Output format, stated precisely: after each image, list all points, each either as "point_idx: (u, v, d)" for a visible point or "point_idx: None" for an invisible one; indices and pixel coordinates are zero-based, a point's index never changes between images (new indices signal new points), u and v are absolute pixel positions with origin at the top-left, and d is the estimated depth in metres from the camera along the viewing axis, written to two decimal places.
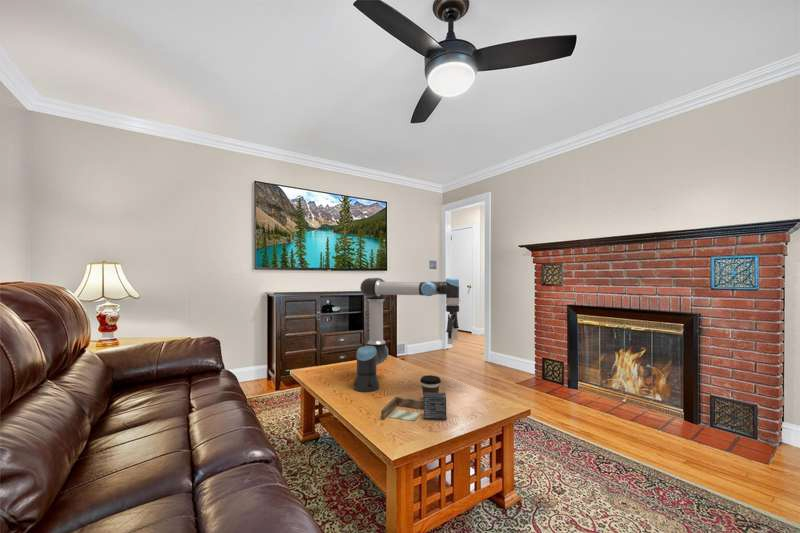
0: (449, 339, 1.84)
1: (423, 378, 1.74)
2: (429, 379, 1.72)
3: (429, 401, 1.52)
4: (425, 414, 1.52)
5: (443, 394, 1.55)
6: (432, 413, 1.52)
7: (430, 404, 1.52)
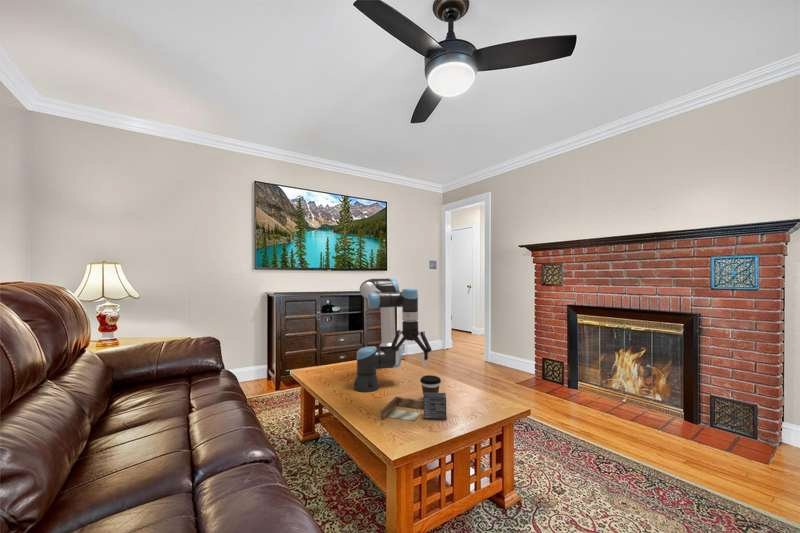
0: None
1: (423, 378, 1.74)
2: (429, 379, 1.72)
3: (429, 401, 1.52)
4: (425, 414, 1.52)
5: (443, 394, 1.55)
6: (432, 413, 1.52)
7: (430, 404, 1.52)
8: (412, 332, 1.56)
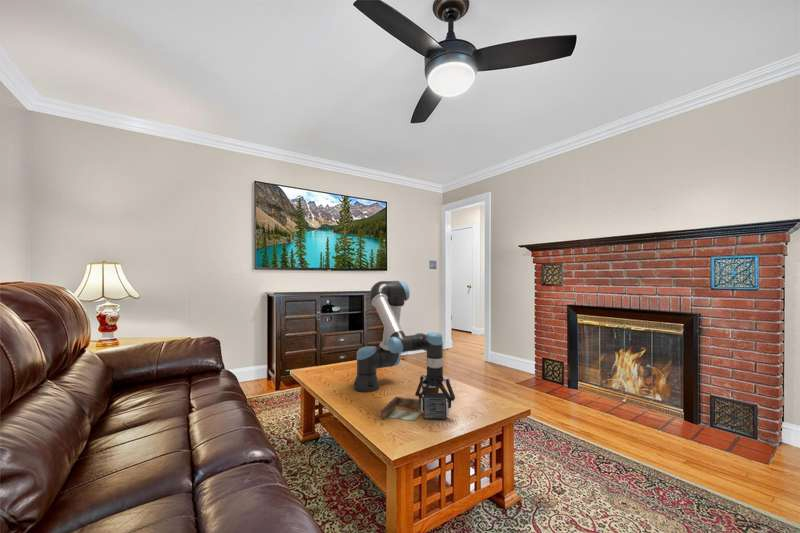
0: None
1: None
2: None
3: (429, 401, 1.52)
4: (425, 414, 1.52)
5: (443, 394, 1.55)
6: (432, 413, 1.52)
7: (430, 404, 1.52)
8: (437, 378, 1.54)
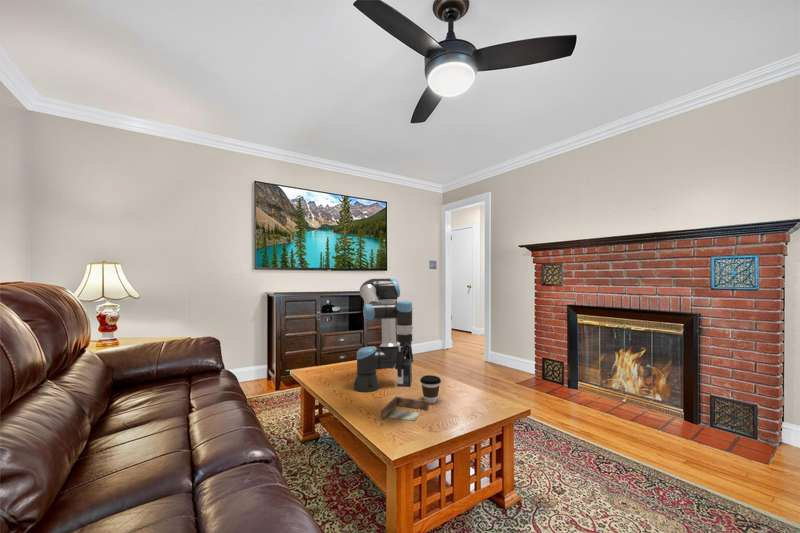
0: (399, 377, 1.51)
1: (423, 378, 1.74)
2: (429, 379, 1.72)
3: (410, 367, 1.54)
4: (410, 381, 1.52)
5: (404, 359, 1.61)
6: None
7: (410, 370, 1.54)
8: (407, 343, 1.58)
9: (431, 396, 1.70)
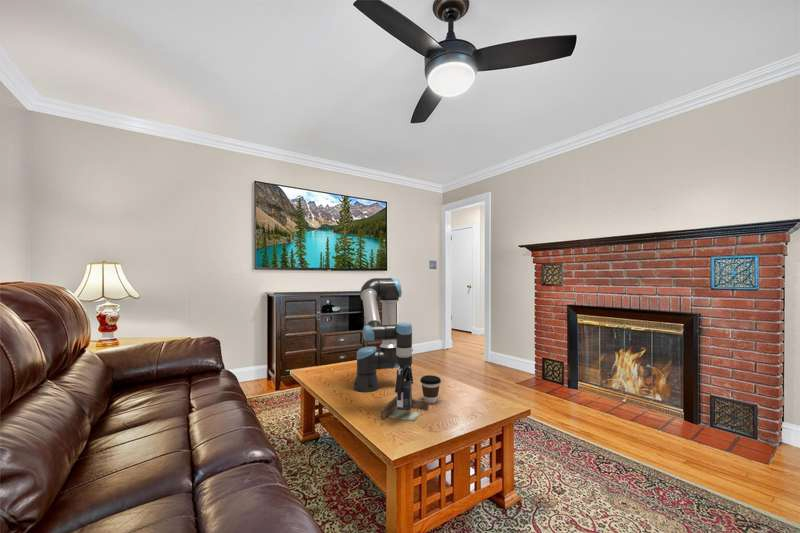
0: (399, 401, 1.51)
1: (423, 378, 1.74)
2: (429, 379, 1.72)
3: (410, 390, 1.54)
4: (410, 404, 1.52)
5: None
6: None
7: (410, 392, 1.54)
8: (407, 366, 1.58)
9: (431, 396, 1.70)
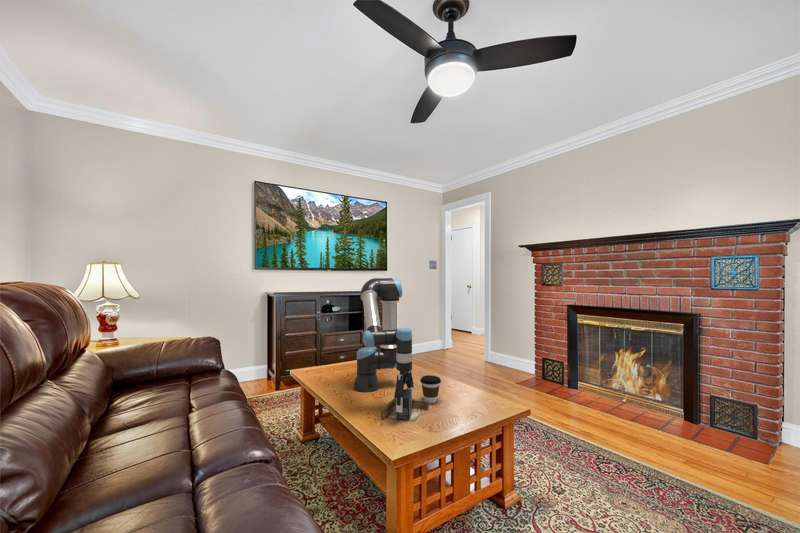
0: (398, 406, 1.50)
1: (423, 378, 1.74)
2: (429, 379, 1.72)
3: None
4: (409, 414, 1.51)
5: (404, 389, 1.60)
6: (410, 410, 1.54)
7: (410, 402, 1.54)
8: (407, 372, 1.58)
9: (431, 396, 1.70)
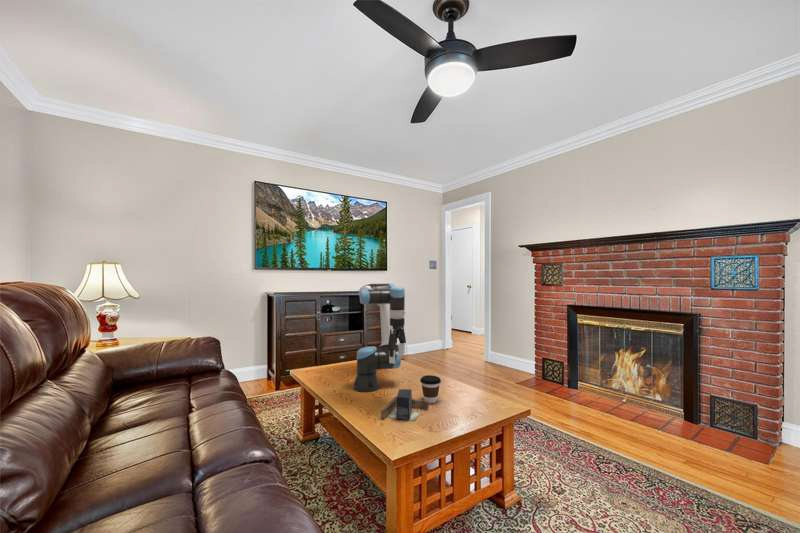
0: (391, 358, 1.61)
1: (423, 378, 1.74)
2: (429, 379, 1.72)
3: None
4: (409, 414, 1.51)
5: (404, 389, 1.60)
6: (410, 410, 1.54)
7: (410, 402, 1.54)
8: (400, 327, 1.69)
9: (431, 396, 1.70)
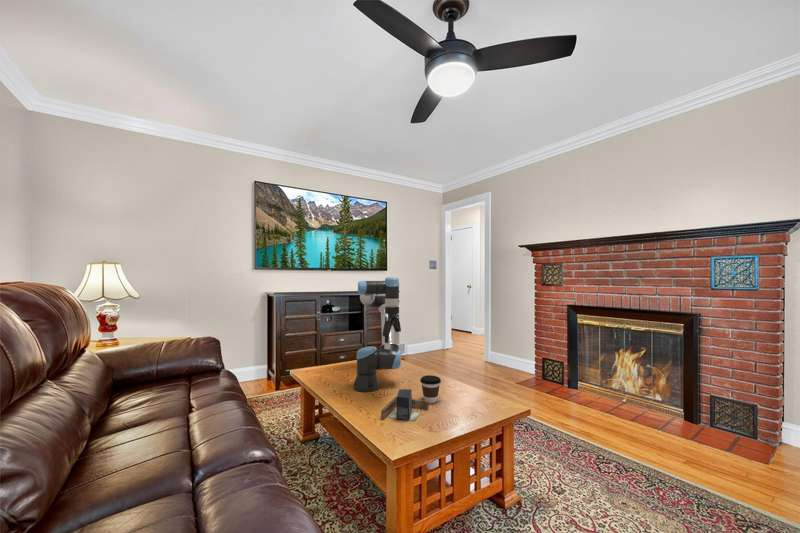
0: (386, 344, 1.68)
1: (423, 378, 1.74)
2: (429, 379, 1.72)
3: None
4: (409, 414, 1.51)
5: (404, 389, 1.60)
6: (410, 410, 1.54)
7: (410, 402, 1.54)
8: (395, 316, 1.76)
9: (431, 396, 1.70)
